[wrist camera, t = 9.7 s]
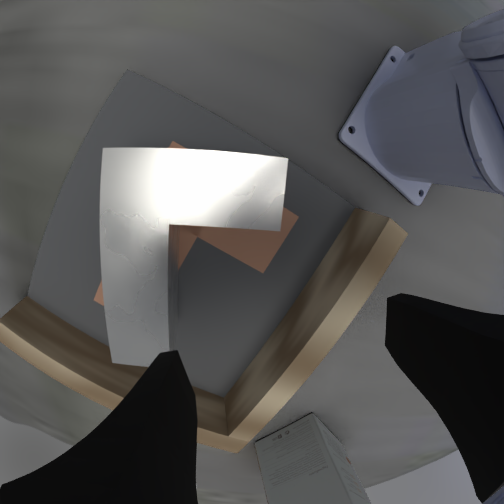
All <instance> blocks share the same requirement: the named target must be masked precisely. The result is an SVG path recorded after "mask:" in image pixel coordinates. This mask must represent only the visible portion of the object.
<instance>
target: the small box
mask: <svg viewBox="0 0 504 504" xmlns="http://www.w3.org/2000/svg"><path fill="white" fill-rule="evenodd" d="M255 449H256V454H257V458H258V463H259V467H260V471H261V476H262V480H263V484H264V489H265V493H266V497H267V502H268V504H371V502H370V500H369V498H368V496H367V494H366V492H365V490H364V488H363V486H362V484H361V482H360V480H359V478H358V476H357V474H356V472H355V470H354V467H353V465H352V463H351V461H350V459H349V457H348V455H347V453H346V451H345V449H344V447H343V445H342V443H341V442H340V441H339V440H338V439H337V438H336V437H335V436H334V435H333V434H332V433H331V432H330V431H329V429H328V428H327V427H326V426H325V425H324V424H323V423H322V422H321V421H320V420H319V419H318V418H317V417H316V416H315V415H314V414H313V413H311V414H309V415H307V416H305V417H303V418H302V419H300V420H298V421H296V422H294V423H292V424H291V425H289V426H287V427H285V428H283V429H281V430H279V431H277V432H275V433H273V434H271V435H269V436H267V437H265V438H263V439H261V440H259V441H257V442H255Z"/></svg>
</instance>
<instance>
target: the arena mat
mask: <svg viewBox="0 0 504 504" xmlns="http://www.w3.org/2000/svg"><path fill="white" fill-rule="evenodd" d="M103 148H176V149H196V150H212V151H225V152H237V153H247V154H257V155H266V156H274V157H282V158H285V157H284V156H282V155H281V154H279V153H278V152H276V151H275V150H273V149H272V148H270V147H268V146H267V145H265V144H264V143H262V142H261V141H259V140H257V139H256V138H254V137H253V136H251V135H249V134H248V133H246V132H244V131H243V130H241V129H240V128H238V127H236V126H235V125H233V124H231V123H229V122H228V121H226V120H224V119H223V118H221V117H219V116H217V115H216V114H214V113H212V112H210V111H209V110H207V109H205V108H203V107H201V106H200V105H198V104H196V103H194V102H192V101H190V100H189V99H187V98H185V97H183V96H181V95H179V94H177V93H175V92H173V91H171V90H169V89H167V88H165V87H163V86H161V85H159V84H157V83H155V82H153V81H151V80H149V79H147V78H145V77H143V76H141V75H139V74H137V73H134V72H132V71H130V70H128V69H127V70H126V72H125V73H124V74H123V76H122V77H121V79H120V80H119V82H118V83H117V85H116V86H115V88H114V89H113V91H112V93H111V94H110V96H109V97H108V99H107V100H106V102H105V104H104V105H103V107H102V109H101V110H100V112H99V114H98V115H97V117H96V119H95V121H94V122H93V124H92V126H91V128H90V130H89V132H88V133H87V135H86V137H85V139H84V141H83V143H82V145H81V147H80V149H79V151H78V153H77V155H76V157H75V159H74V161H73V163H72V165H71V167H70V170H69V172H68V174H67V176H66V178H65V181H64V183H63V185H62V188H61V190H60V193H59V195H58V197H57V200H56V202H55V205H54V208H53V210H52V213H51V216H50V218H49V221H48V224H47V227H46V230H45V233H44V236H43V239H42V242H41V245H40V248H39V252H38V255H37V259H36V262H35V266H34V269H33V273H32V277H31V281H30V285H29V290H28V294H27V296H28V297H30V298H31V299H32V300H34V301H35V302H37V303H38V304H40V305H41V306H43V307H44V308H45V309H47V310H48V311H50V312H51V313H53V314H55V315H56V316H58V317H59V318H61V319H62V320H64V321H66V322H67V323H69V324H70V325H72V326H74V327H75V328H77V329H79V330H80V331H82V332H84V333H85V334H87V335H89V336H91V337H92V338H94V339H96V340H98V341H99V342H101V343H103V344H105V345H107V346H109V340H108V333H107V326H106V318H105V309H104V299H103V289H102V275H101V258H100V183H101V166H102V153H103ZM354 209H355V207H354V206H352V205H351V204H350V203H349V202H347V201H346V200H345V199H343V198H342V197H341V196H339V195H338V194H337V193H335V192H334V191H332V190H331V189H330V188H328V187H327V186H326V185H324V184H323V183H321V182H320V181H319V180H317V179H316V178H314V177H313V176H312V175H310V174H309V173H307V172H306V171H304V170H303V169H302V168H300V167H299V166H297V165H296V164H294V163H293V162H291V161H290V160H288V165H287V175H286V184H285V194H284V203H283V212H282V220H281V229H280V231H269V230H255V229H240V228H225V227H209V226H192V225H180V233H179V261H178V324H177V330H176V336H175V342H174V348H173V350H178V352H179V355H180V358H181V360H182V363H183V365H184V368H185V371H186V373H187V376H188V378H189V381H190V383H191V385H192V386H194V387H197V388H199V389H202V390H205V391H207V392H210V393H213V394H215V395H218V396H221V397H223V398H224V397H225V396H226V394H227V393H228V392H229V391H230V389H231V388H232V387H233V386H234V384H235V383H236V382H237V380H238V379H239V378H240V376H241V375H242V374H243V372H244V371H245V370H246V369H247V367H248V366H249V365H250V363H251V362H252V361H253V359H254V358H255V357H256V355H257V354H258V352H259V351H260V350H261V348H262V347H263V346H264V344H265V343H266V342H267V340H268V339H269V337H270V336H271V335H272V333H273V332H274V330H275V329H276V328H277V326H278V325H279V323H280V322H281V321H282V319H283V318H284V316H285V315H286V313H287V312H288V311H289V309H290V308H291V306H292V305H293V303H294V302H295V300H296V299H297V298H298V296H299V295H300V293H301V292H302V290H303V289H304V287H305V286H306V284H307V283H308V281H309V280H310V278H311V277H312V275H313V274H314V272H315V271H316V269H317V268H318V266H319V265H320V263H321V262H322V260H323V258H324V257H325V255H326V254H327V252H328V251H329V249H330V248H331V246H332V244H333V243H334V241H335V240H336V238H337V236H338V235H339V233H340V232H341V230H342V228H343V227H344V225H345V224H346V222H347V220H348V219H349V217H350V215H351V214H352V212H353V210H354ZM109 347H110V346H109Z"/></svg>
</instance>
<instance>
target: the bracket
mask: <svg viewBox="0 0 504 504" xmlns="http://www.w3.org/2000/svg"><path fill="white" fill-rule="evenodd" d="M287 165H288V158H282V157H274V156H266V155H257V154H247V153H237V152H225V151H212V150H196V149H176V148H103V153H102V166H101V183H100V258H101V275H102V289H103V299H104V309H105V318H106V326H107V333H108V340H109V346H110V352H111V358H112V363H118V364H126V365H135V366H144V367H149V366H150V364H151V363H152V362H153V361H154V359H155V358H156V357H157V355H158V354H159V353H161V352H167V351H173V348H174V342H175V336H176V330H177V324H178V261H179V233H180V225H192V226H209V227H225V228H240V229H255V230H269V231H280V229H281V220H282V212H283V203H284V194H285V184H286V175H287Z"/></svg>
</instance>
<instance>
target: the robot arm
mask: <svg viewBox="0 0 504 504" xmlns="http://www.w3.org/2000/svg"><path fill="white" fill-rule="evenodd" d="M390 58H392V60H393V62H392V61H391V59H390ZM349 127H351V128H352V130H353V132H352V134H351V133H349V131H348V128H349ZM339 139H340V141H341V142H342V143H343V144H345V145H346V146H347V147H348V148H350V149H351V150H352V151H353V152H355V153H356V154H357V155H358V156H359V157H361V158H362V159H363V160H364V161H366V162H367V163H368V164H369V165H370V166H371V167H373V168H374V169H375V170H376V171H377V172H378V173H380V174H381V175H382V176H383V177H384V178H385V179H386V180H387V181H389V182H390V183H391V184H392V185H393V186H394V187H395V188H396V189H397V190H398V191H399V192H401V193H402V194H403V195H404V196H405V197H406V198H407V199H408V200H409V201H410V202H411V203H412V204H413V205H417V206H419V205H420V204H421V203H422V201H423V200H424V198H425V196H426V194H427V192H428V190H429V188H430V186H431V184H432V183H433V184H441V185H448V186H455V187H461V188H468V189H474V190H480V191H485V192H491V193H496V194H501V195H503V196H504V9H502V10H499V11H496V12H494V13H491V14H489V15H487V16H484V17H482V18H480V19H478V20H476V21H474V22H472V23H470V24H469V25H467V26H466V27H464V28H463V29H462V31H458V32H453V33H450V34H448V35H446V36H443V37H441V38H438V39H436V40H434V41H431V42H429V43H427V44H425V45H422V46H420V47H418V48H416V49H414V50H411V51H409V52H407V53H405V52H404V51H403V50H402V49H401V48H399V47H398V46H393V47H391V48H390V50H389V51H388V53H387V55H386V56H385V58H384V60H383V61H382V63H381V65H380V66H379V68H378V70H377V71H376V73H375V75H374V76H373V78H372V79H371V81H370V83H369V84H368V86H367V88H366V89H365V91H364V93H363V94H362V96H361V98H360V99H359V101H358V103H357V104H356V106H355V107H354V109H353V111H352V112H351V114H350V116H349V117H348V119H347V121H346V122H345V124H344V125H343V127H342V129H341V130H340V132H339ZM419 191H420V192H421V193H420V195H419ZM385 346H386V348H387V349H388V351H389V353H390V354H391V356H392V357H393V359H394V361H395V362H396V364H397V365H398V366H399V368H400V369H401V370H402V371H403V372H404V373H405V375H406V376H407V377H408V378H409V379H410V380H411V382H412V383H413V384H414V385H415V386H416V387H417V389H418V390H419V391H420V392H421V393H422V394H423V395H424V397H425V398H426V399H427V400H428V401H429V402H430V404H431V405H432V406H433V408H434V409H435V410H436V411H437V413H438V414H439V416H440V418H441V419H442V421H443V422H444V424H445V426H446V427H447V429H448V431H449V432H450V434H451V436H452V438H453V440H454V441H455V443H456V445H457V447H458V449H459V451H460V453H461V455H462V457H463V460H464V462H465V464H466V466H467V469H468V472H469V474H470V477H471V480H472V482H473V486H474V489H475V492H476V496H477V497H478V499H479V500H480V501H481V503H482V504H504V315H499V314H490V313H484V312H479V311H474V310H469V309H464V308H460V307H456V306H452V305H448V304H444V303H441V302H437V301H433V300H429V299H426V298H422V297H418V296H413V295H409V294H402V293H400V294H397V295H395V296H392V297H389V298H387V317H386V336H385ZM197 424H198V419H197V406H196V395H195V393H194V390H193V388H192V385H191V383H190V381H189V378H188V376H187V373H186V371H185V368H184V365H183V363H182V360H181V358H180V355H179V352H178V350H173V351H167V352H161V353H159V354H158V355H157V357H156V358H155V359H154V361H153V362H152V363H151V364H150V366H149V367H148V368H147V370H146V371H145V372H144V374H143V375H142V376H141V378H140V379H139V380H138V381H137V383H136V384H135V385H134V387H133V388H132V389H131V390H130V392H129V393H128V394H127V395H126V396H125V397H124V399H123V400H122V401H121V402H120V403H119V404H118V405H117V407H116V408H115V409H114V410H113V411H112V412H111V413H110V414H109V415H108V416H107V418H106V419H104V420H103V421H102V422H101V423H100V424H99V425H98V426H97V427H96V428H95V429H94V430H93V431H92V432H91V433H90V434H88V435H87V436H86V437H85V438H84V439H82V440H81V441H80V442H78V443H77V444H76V445H74V446H73V447H72V448H71V449H69V450H68V451H67V452H65V453H64V454H62V455H61V456H59V457H58V458H56V459H55V460H53V461H51V462H50V463H48V464H46V465H44V466H43V467H41V468H39V469H37V470H35V471H34V472H31V473H30V474H27V475H25V476H22V477H20V478H18V479H15V480H13V481H10V482H8V483H5V484H2V486H1V488H0V504H198V501H197V492H196V449H197ZM501 487H502V488H501ZM494 493H495V494H494ZM488 498H489V499H488ZM483 502H484V503H483Z"/></svg>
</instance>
